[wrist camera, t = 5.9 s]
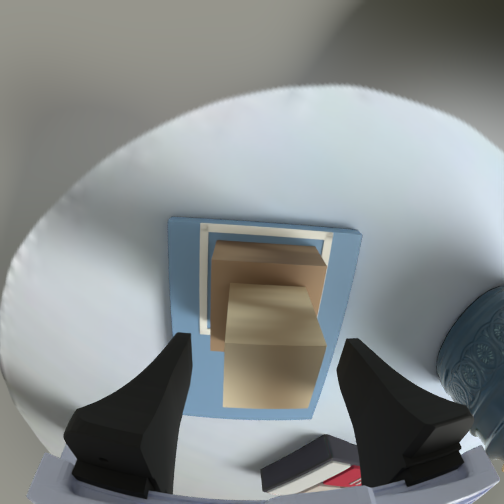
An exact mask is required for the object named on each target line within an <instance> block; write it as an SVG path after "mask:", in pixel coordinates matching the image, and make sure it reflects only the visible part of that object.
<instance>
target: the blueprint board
mask: <svg viewBox="0 0 504 504" xmlns="http://www.w3.org/2000/svg"><path fill="white" fill-rule="evenodd" d="M217 240H226V241H242V242H257V243H272V244H287V245H302V246H315V247H316V249H317V250H318V252H319V254H320V255H321V257H322V259H323V260H324V262H325V264H326V265H327V271H326V276H325V281H324V286H323V291H322V296H321V301H320V305H319V310H318V315H317V319H318V322H319V325H320V328H321V330H322V333H323V336H324V339H325V341H326V344H327V347H326V351H325V354H324V358H323V361H322V365H321V368H320V372H319V375H318V378H317V381H316V385H315V388H314V391H313V394H312V397H311V400H310V403H309V406H308V408H303V409H250V408H228V407H223V382H224V352H219V351H210V313H211V260H212V256H213V252H214V248H215V244H216V241H217ZM361 240H362V234H361V233H360V232H359V231H358V230H351V229H341V228H329V227H318V226H306V225H293V224H280V223H267V222H253V221H237V220H222V219H204V218H186V217H171V218H170V219H169V220H168V259H169V284H170V302H171V318H172V331H173V337H174V335H175V334H176V333H177V332H183V333H191V342H192V362H193V368H192V376H191V383H190V388H189V391H188V395H187V399H186V403H185V407H184V411H183V414H182V415H188V416H198V417H209V418H223V419H242V420H303V419H312V416H313V413H314V411H315V408H316V405H317V402H318V399H319V397H320V394H321V391H322V388H323V385H324V382H325V379H326V376H327V373H328V369H329V366H330V363H331V360H332V357H333V353H334V350H335V347H336V343H337V340H338V336H339V333H340V329H341V325H342V322H343V318H344V314H345V310H346V307H347V303H348V299H349V295H350V290H351V286H352V282H353V278H354V273H355V269H356V264H357V260H358V255H359V250H360V245H361Z"/></svg>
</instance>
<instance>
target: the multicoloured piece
mask: <svg viewBox="0 0 504 504" xmlns="http://www.w3.org/2000/svg"><path fill="white" fill-rule="evenodd" d="M261 480H262V490H263V492H268V493H269V494H274V495H281V496H282V495H289V494H297V493H309V492H319V491H327V490H334V489H341V488H347V487H353V486H361V472H360V463H359V455H358V449H357V446H356V445H352V444H350V443H349V442H347V441H344V440H341V439H339V438H336V437H333V436H331V435H328V434H326V435H322V436H321V437H319V438H318V439H316V440H314V441H313V442H311V443H309V444H307V445H306V446H304V447H302V448H301V449H299V450H297V451H295V452H293V453H292V454H290V455H288V456H286V457H284V458H282V459H281V460H279V461H277V462H275V463H273V464H271V465H269V466H267V467H265V468H263V469H261Z"/></svg>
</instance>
